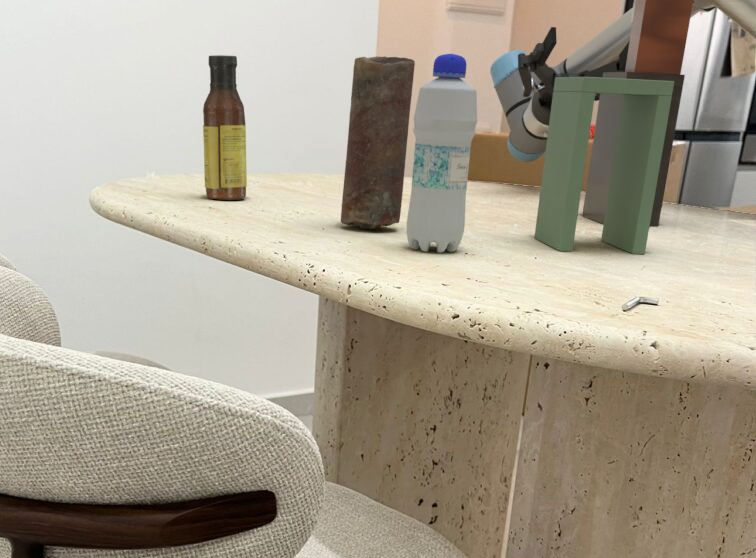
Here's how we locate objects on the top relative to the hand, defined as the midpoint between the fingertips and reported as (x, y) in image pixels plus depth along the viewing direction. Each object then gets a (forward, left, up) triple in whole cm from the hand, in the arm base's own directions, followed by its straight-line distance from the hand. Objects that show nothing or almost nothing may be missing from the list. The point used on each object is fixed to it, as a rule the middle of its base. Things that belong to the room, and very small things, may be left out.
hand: (596, 37), depth 148 cm
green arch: (+14, +47, -26) cm, 55 cm away
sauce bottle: (+57, +11, -26) cm, 64 cm away
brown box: (-2, +16, -6) cm, 17 cm away
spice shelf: (0, +21, -26) cm, 33 cm away
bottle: (+34, +54, -26) cm, 68 cm away
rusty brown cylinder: (+39, +39, -26) cm, 61 cm away
